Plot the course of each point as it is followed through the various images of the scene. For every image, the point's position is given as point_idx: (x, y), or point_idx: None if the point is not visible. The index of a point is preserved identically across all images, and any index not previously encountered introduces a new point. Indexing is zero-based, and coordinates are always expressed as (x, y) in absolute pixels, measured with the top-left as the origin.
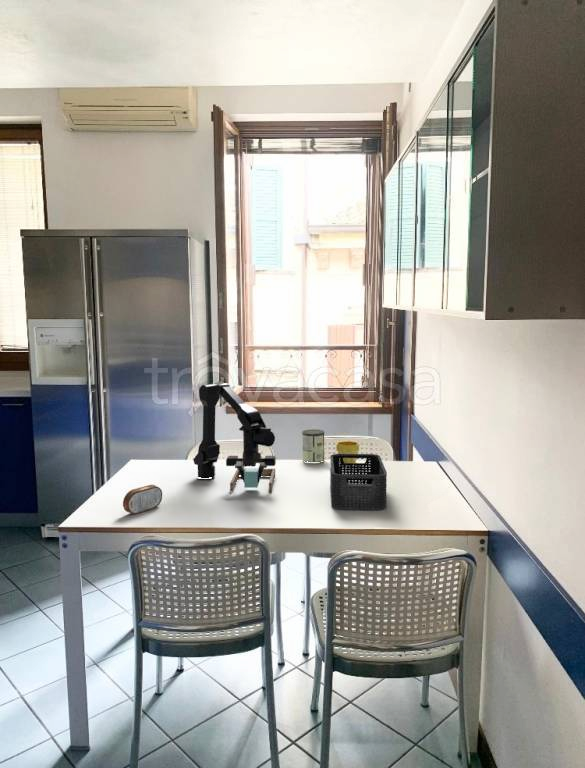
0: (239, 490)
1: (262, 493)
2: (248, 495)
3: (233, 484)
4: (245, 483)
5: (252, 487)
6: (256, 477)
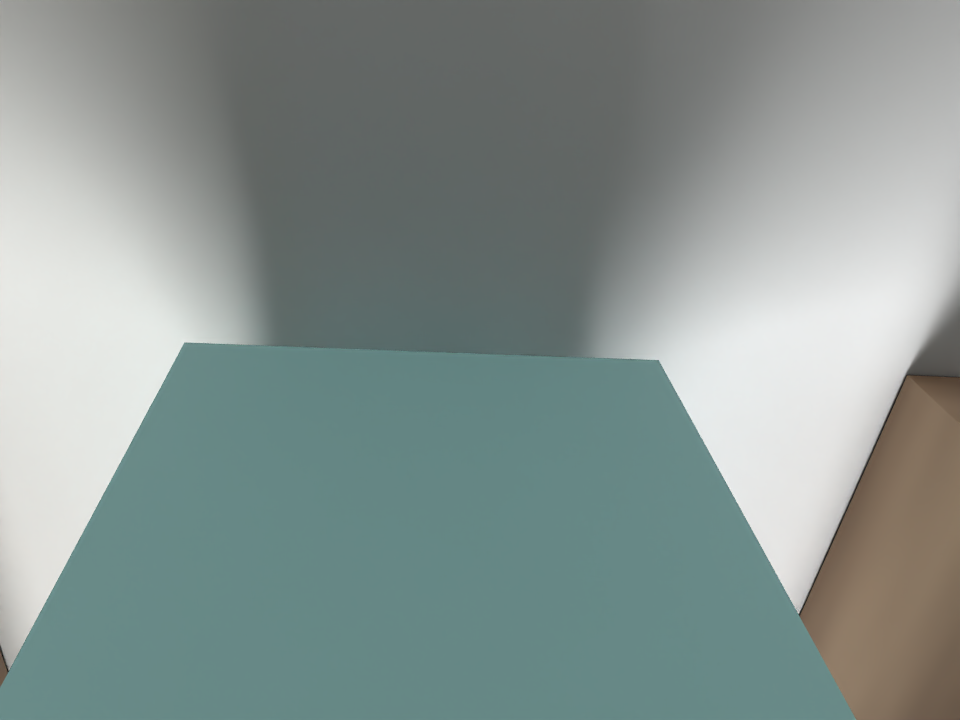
0: (723, 464)
1: (60, 207)
2: (500, 16)
3: (939, 592)
4: (662, 449)
5: (374, 351)
6: (61, 683)
